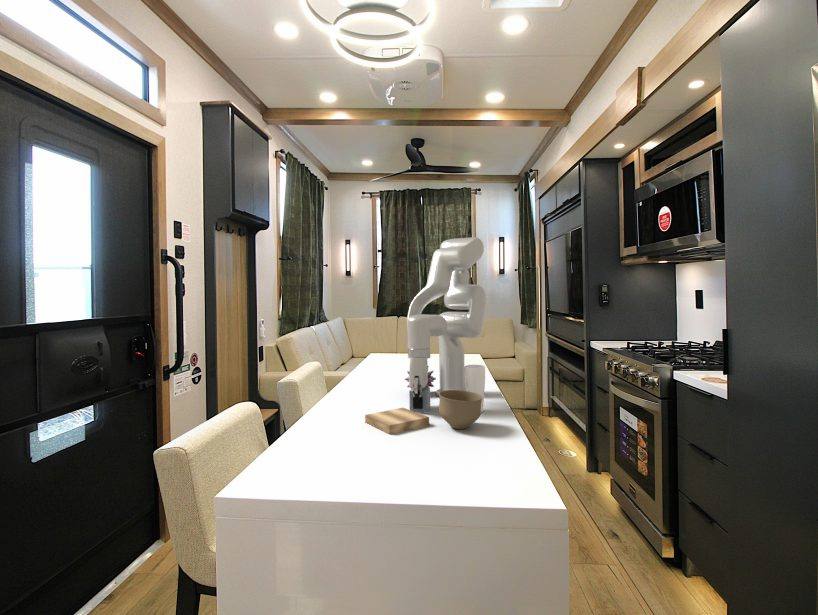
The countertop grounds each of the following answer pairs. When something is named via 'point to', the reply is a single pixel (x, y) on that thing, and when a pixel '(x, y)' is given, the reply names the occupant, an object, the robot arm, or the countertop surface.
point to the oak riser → (396, 420)
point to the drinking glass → (475, 380)
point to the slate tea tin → (425, 400)
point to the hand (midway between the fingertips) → (420, 405)
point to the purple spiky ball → (430, 379)
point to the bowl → (459, 407)
